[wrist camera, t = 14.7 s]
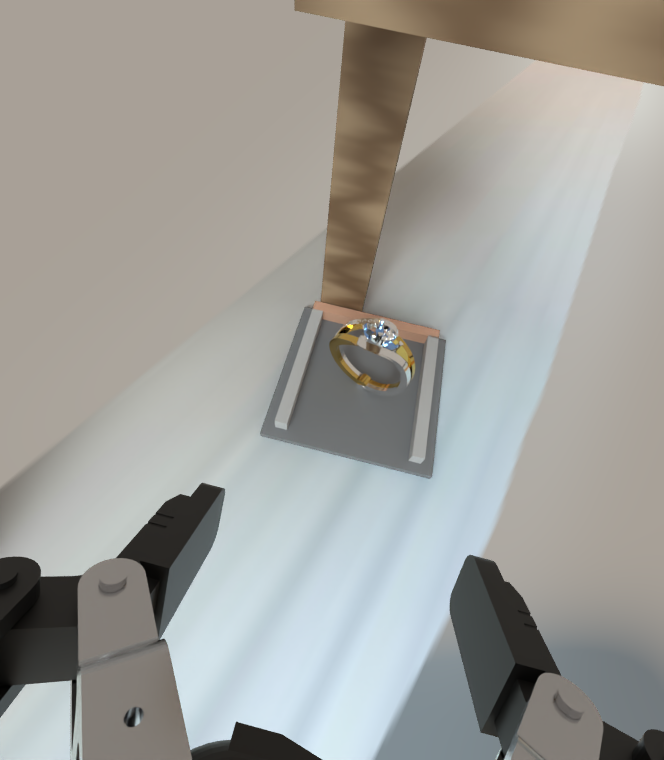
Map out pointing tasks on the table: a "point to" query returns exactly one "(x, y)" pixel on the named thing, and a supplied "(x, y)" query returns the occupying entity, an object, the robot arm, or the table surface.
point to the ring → (377, 345)
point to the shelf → (398, 79)
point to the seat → (358, 395)
